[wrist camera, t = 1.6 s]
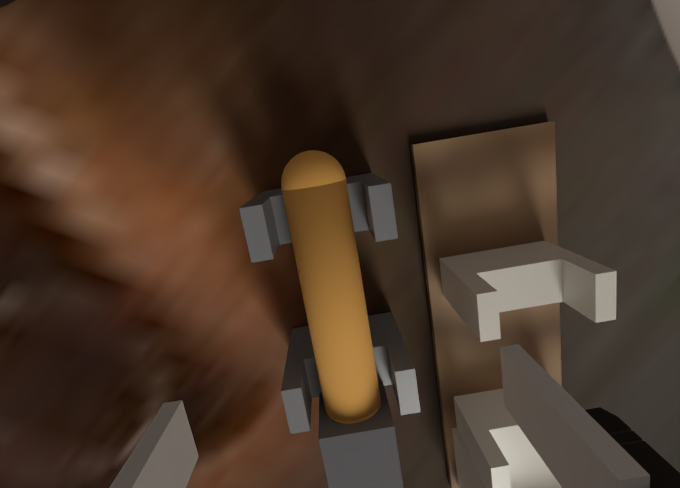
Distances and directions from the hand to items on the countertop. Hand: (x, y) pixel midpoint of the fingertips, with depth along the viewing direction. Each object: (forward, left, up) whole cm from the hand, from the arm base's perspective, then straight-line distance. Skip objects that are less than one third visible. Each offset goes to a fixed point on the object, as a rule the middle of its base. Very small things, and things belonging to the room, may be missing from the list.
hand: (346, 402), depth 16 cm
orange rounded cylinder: (0, 0, -10) cm, 10 cm away
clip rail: (+6, +12, -15) cm, 20 cm away
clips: (+10, +12, -14) cm, 21 cm away
